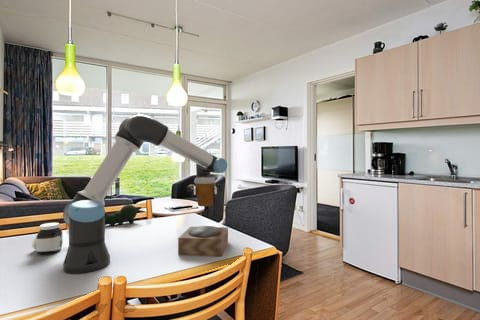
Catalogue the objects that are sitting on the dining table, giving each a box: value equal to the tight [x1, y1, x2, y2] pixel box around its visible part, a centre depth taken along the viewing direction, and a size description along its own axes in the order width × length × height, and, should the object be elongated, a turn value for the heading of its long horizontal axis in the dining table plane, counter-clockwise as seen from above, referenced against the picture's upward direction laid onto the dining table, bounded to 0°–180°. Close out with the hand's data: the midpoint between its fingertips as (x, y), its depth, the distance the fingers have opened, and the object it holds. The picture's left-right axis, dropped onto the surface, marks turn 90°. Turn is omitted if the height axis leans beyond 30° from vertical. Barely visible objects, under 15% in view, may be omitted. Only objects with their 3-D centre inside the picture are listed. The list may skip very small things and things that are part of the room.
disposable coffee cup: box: [193, 176, 217, 207], centre depth 120 cm, size 10×10×12 cm
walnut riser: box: [177, 225, 229, 257], centre depth 120 cm, size 18×18×8 cm
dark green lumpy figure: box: [104, 194, 143, 227], centre depth 162 cm, size 9×19×25 cm
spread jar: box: [31, 222, 64, 256], centre depth 116 cm, size 12×11×12 cm
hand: (205, 191), depth 115 cm, fingers closed on disposable coffee cup, 8 cm apart
